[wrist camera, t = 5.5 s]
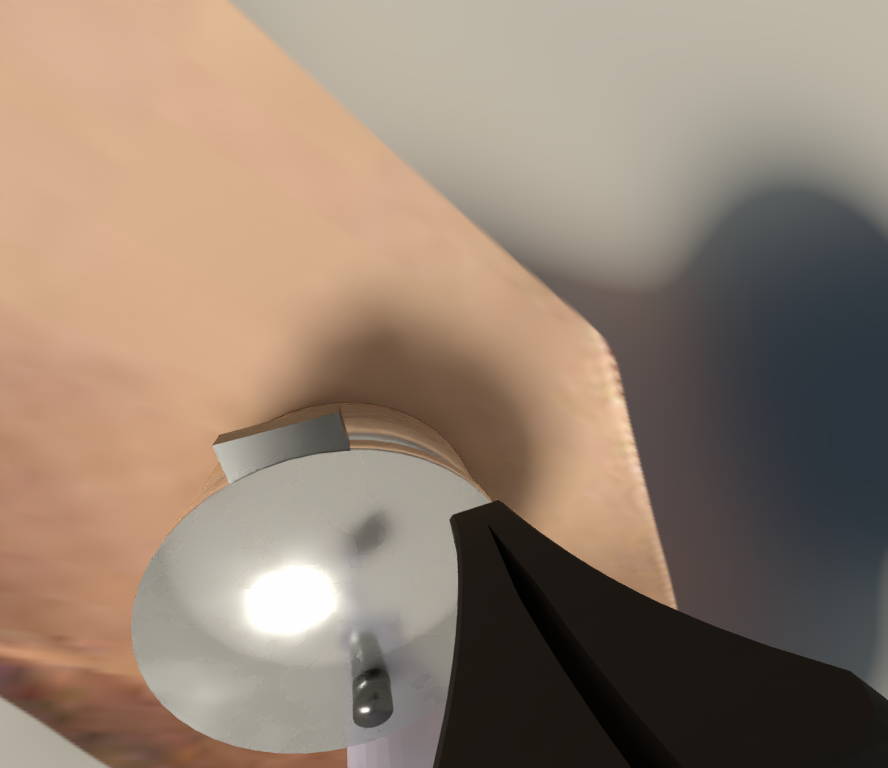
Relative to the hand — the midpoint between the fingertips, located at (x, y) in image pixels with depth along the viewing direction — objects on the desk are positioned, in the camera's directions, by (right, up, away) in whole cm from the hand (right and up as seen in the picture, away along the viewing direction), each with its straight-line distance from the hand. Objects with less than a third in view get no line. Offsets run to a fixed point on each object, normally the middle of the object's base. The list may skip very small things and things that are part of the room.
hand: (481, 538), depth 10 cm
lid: (-5, -4, +6) cm, 9 cm away
